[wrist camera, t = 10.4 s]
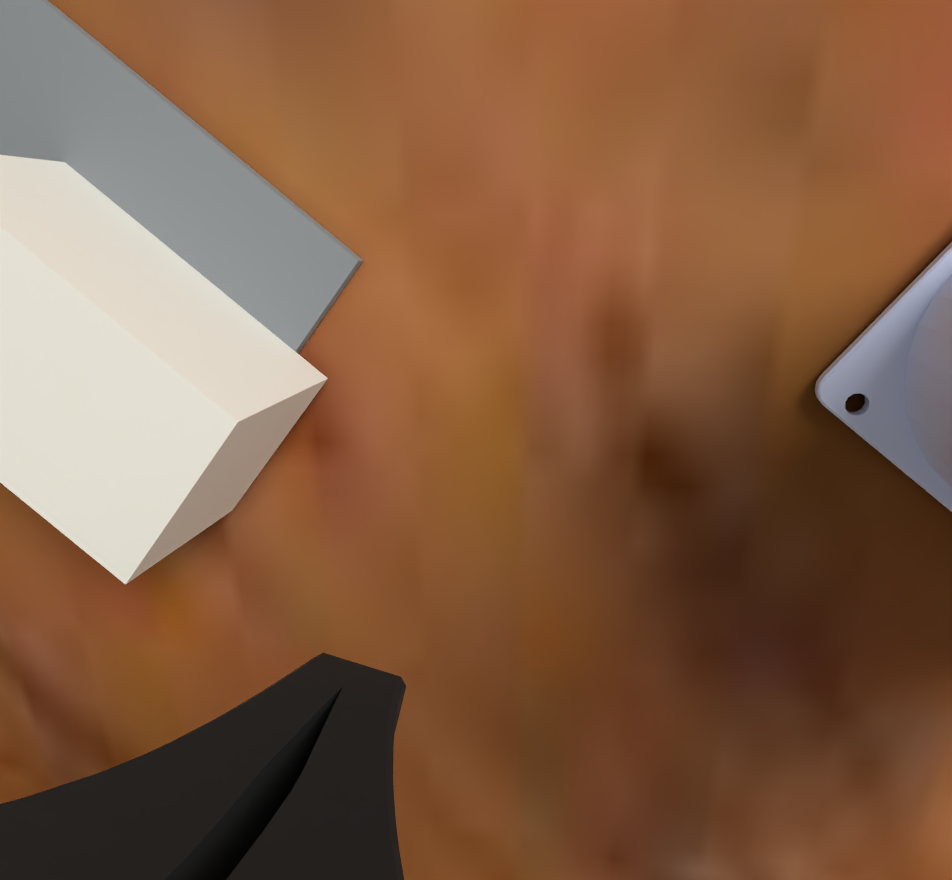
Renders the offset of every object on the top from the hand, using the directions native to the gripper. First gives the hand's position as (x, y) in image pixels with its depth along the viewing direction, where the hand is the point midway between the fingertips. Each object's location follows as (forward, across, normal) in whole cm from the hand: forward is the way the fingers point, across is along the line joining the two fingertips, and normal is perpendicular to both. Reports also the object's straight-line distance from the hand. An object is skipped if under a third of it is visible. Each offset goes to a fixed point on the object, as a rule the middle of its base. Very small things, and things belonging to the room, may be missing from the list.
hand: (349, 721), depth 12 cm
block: (+8, +6, 0) cm, 9 cm away
